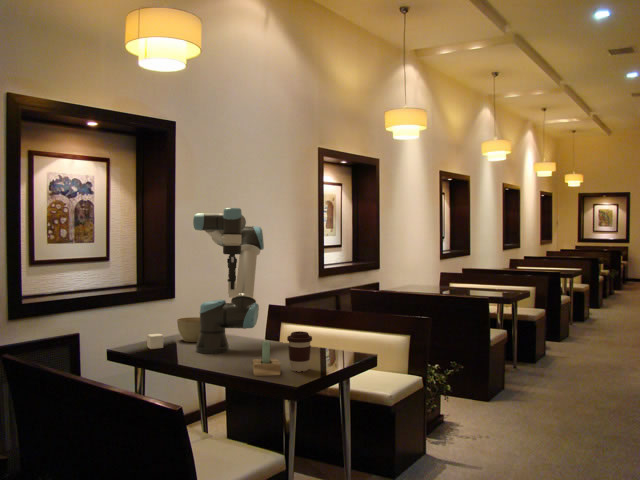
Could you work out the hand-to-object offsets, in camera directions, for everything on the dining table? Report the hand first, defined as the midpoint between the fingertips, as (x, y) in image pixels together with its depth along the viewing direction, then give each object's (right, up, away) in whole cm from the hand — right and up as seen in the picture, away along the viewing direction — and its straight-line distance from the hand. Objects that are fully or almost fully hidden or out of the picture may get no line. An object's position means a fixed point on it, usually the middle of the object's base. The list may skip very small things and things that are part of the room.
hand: (231, 295), depth 235 cm
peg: (+16, -29, -13) cm, 35 cm away
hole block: (+16, -29, -13) cm, 35 cm away
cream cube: (-42, -28, +33) cm, 60 cm away
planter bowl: (-28, -28, +50) cm, 64 cm away
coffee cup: (+29, -29, -9) cm, 42 cm away
